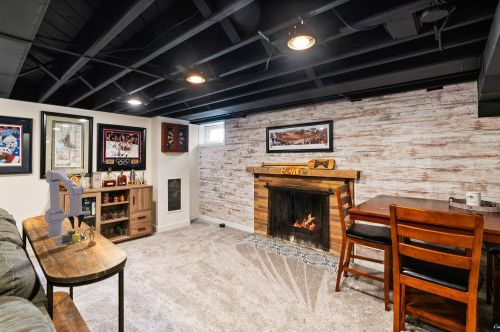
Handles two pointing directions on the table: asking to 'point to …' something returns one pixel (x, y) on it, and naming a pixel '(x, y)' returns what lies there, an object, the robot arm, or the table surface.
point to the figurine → (92, 242)
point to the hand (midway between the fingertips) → (76, 227)
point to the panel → (60, 243)
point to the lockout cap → (75, 237)
